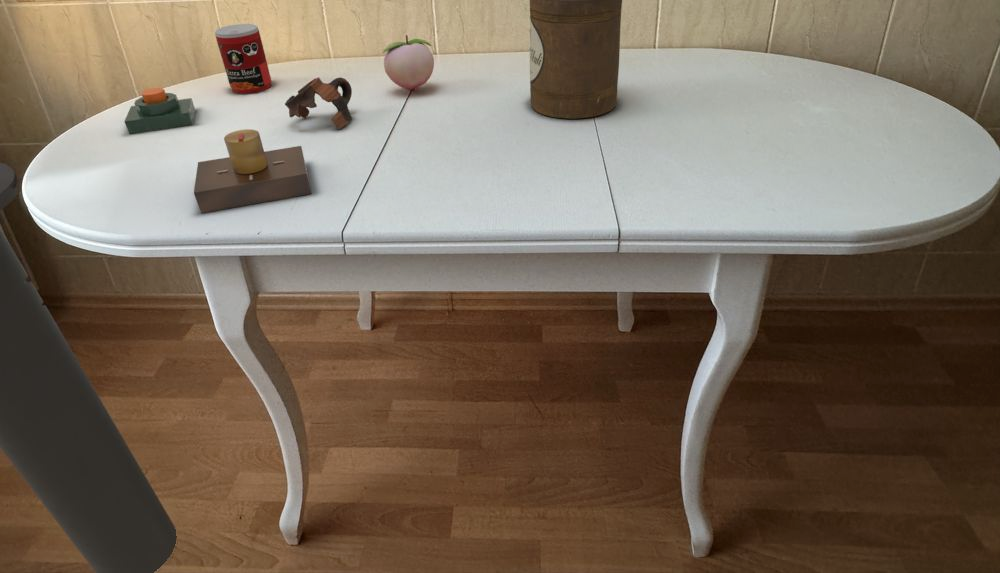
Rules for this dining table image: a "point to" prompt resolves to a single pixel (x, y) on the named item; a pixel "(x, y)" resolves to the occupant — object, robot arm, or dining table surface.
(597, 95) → the wooden container
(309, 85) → the brown angular looped piece
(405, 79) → the decorative fruit
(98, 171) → the dining table surface
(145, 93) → the button
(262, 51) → the canned food
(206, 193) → the plate
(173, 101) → the button box
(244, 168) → the lock knob
